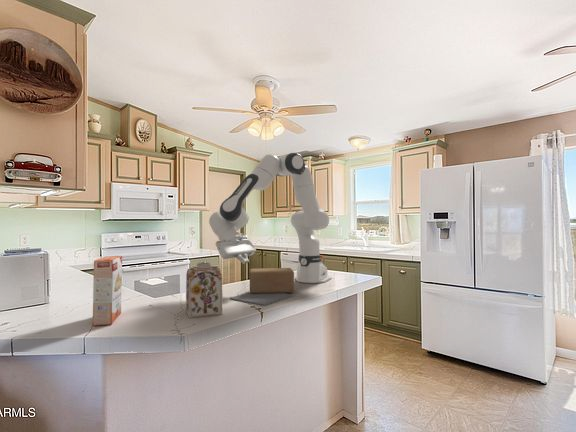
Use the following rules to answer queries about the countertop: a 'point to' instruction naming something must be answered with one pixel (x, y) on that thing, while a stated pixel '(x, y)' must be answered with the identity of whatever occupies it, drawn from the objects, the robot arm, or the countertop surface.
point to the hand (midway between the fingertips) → (246, 262)
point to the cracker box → (107, 290)
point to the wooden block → (271, 280)
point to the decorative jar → (203, 290)
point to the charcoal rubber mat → (261, 298)
